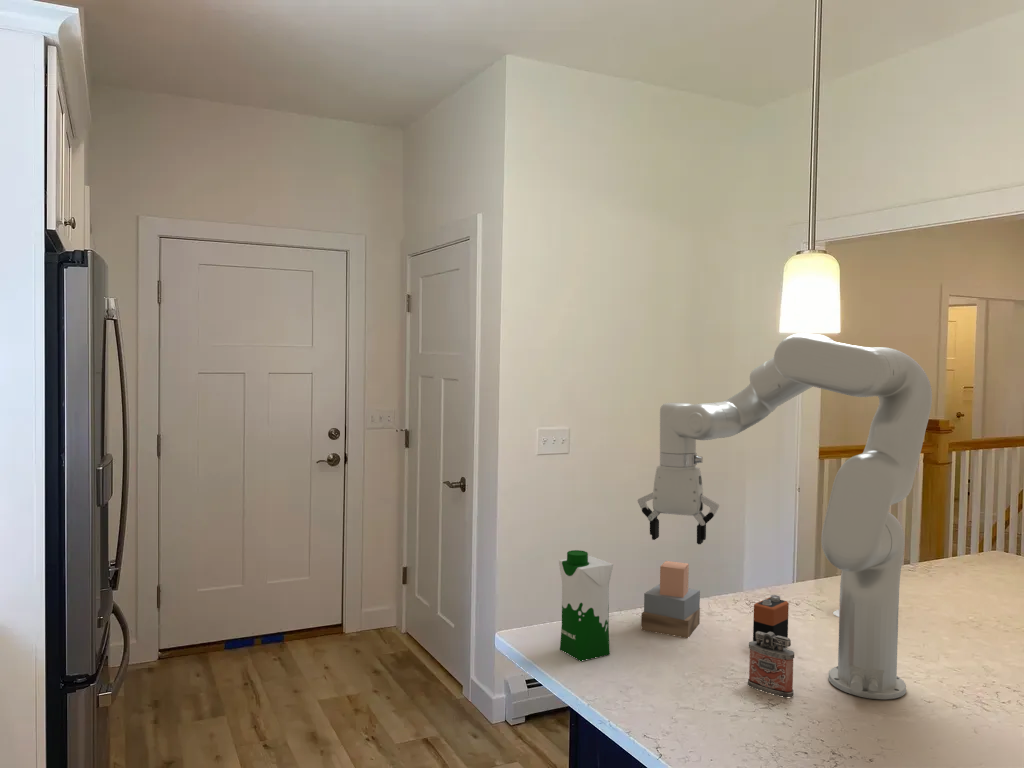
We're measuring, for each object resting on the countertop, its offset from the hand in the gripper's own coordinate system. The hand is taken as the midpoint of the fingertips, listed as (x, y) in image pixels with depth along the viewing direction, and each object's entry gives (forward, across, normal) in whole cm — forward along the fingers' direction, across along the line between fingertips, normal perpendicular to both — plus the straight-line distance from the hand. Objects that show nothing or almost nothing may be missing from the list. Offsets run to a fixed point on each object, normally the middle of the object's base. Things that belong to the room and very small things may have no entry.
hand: (677, 540), depth 167 cm
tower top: (+15, +1, -1) cm, 15 cm away
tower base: (+19, +2, -1) cm, 19 cm away
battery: (+20, -19, +2) cm, 27 cm away
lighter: (+20, -22, +23) cm, 37 cm away
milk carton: (+19, +13, +22) cm, 32 cm away
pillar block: (+11, +1, 0) cm, 11 cm away
